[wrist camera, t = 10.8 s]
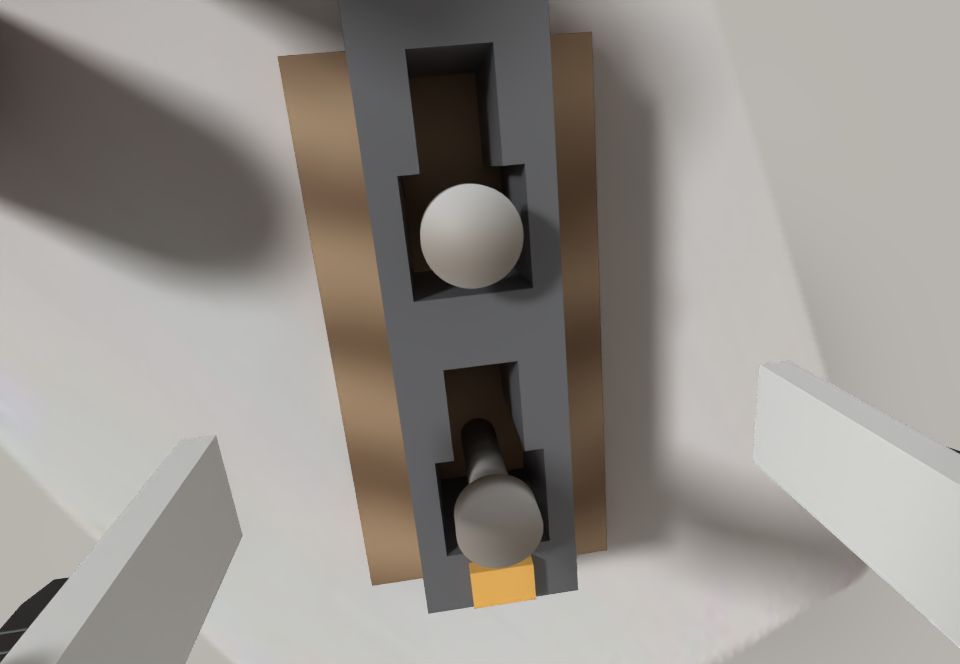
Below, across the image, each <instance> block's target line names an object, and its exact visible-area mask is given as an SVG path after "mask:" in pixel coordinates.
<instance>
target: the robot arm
mask: <svg viewBox="0 0 960 664" xmlns="http://www.w3.org/2000/svg"><path fill="white" fill-rule="evenodd" d="M753 462H754V463H755V464H756V465H757V466H758V467H759V468H760V469H762V470H763V471H764V472H765V473H766V474H767V475H768V476H769V477H770V478H772V479H773V480H774V481H775V482H776V483H777V484H778V485H779V486H780V487H781V488H783V489H784V490H785V491H786V492H787V493H788V494H789V495H790V496H791V497H793V498H794V499H795V500H796V501H797V502H798V503H799V504H800V505H801V506H803V507H804V508H805V509H806V510H807V511H808V512H809V513H810V514H811V515H813V516H814V517H815V518H816V519H817V520H818V521H819V522H820V523H821V524H823V525H824V526H825V527H826V528H827V529H828V530H829V531H830V532H831V533H832V534H834V535H835V536H836V537H837V538H838V539H839V540H840V541H841V542H842V543H844V544H845V545H846V546H847V547H848V548H849V549H850V550H851V551H852V552H854V553H855V554H856V555H857V556H858V557H859V558H860V559H861V560H862V561H864V562H865V563H866V564H867V565H868V566H869V567H870V568H871V569H872V570H874V571H875V572H876V573H877V574H878V575H879V576H880V577H881V578H882V579H884V580H885V581H886V582H887V583H888V584H889V585H890V586H891V587H892V588H893V589H895V590H896V591H897V592H898V593H899V594H900V595H901V596H902V597H903V598H905V599H906V600H907V601H908V602H909V603H910V604H911V605H912V606H913V607H915V608H916V609H917V610H918V611H919V612H920V613H921V614H922V615H923V616H925V617H926V618H927V619H928V620H929V621H930V622H931V623H932V624H934V626H936V627H937V628H938V629H939V630H940V631H941V632H942V633H943V634H945V635H946V636H947V637H948V638H949V639H950V640H951V641H952V642H953V643H954V644H956V645H957V646H958V647H959V648H960V451H958V450H955V449H952V448H949V447H946V446H944V445H942V444H941V443H939V442H937V441H935V440H933V439H931V438H930V437H928V436H926V435H924V434H922V433H920V432H919V431H917V430H915V429H913V428H911V427H909V426H908V425H906V424H904V423H902V422H900V421H898V420H897V419H895V418H893V417H891V416H889V415H887V414H885V413H884V412H882V411H880V410H878V409H876V408H875V407H872V406H871V405H869V404H867V403H866V402H864V401H862V400H860V399H858V398H856V397H855V396H853V395H851V394H849V393H847V392H845V391H844V390H842V389H840V388H838V387H836V386H834V385H833V384H831V383H829V382H827V381H825V380H824V379H822V378H820V377H818V376H816V375H814V374H813V373H811V372H809V371H807V370H805V369H803V368H802V367H800V366H798V365H796V364H794V363H792V362H791V361H781V362H774V363H766V364H760V367H759V380H758V394H757V408H756V422H755V435H754V449H753ZM241 538H242V532H241V528H240V524H239V520H238V517H237V513H236V509H235V505H234V502H233V498H232V494H231V490H230V486H229V483H228V479H227V475H226V471H225V468H224V464H223V460H222V456H221V453H220V449H219V445H218V441H217V437H216V435H214V436H207V437H199V438H191V439H184V440H181V441H180V442H179V443H178V445H177V446H176V447H175V448H174V450H173V451H172V452H171V453H170V454H169V456H168V457H167V458H166V459H165V461H164V462H163V463H162V464H161V466H160V467H159V468H158V469H157V470H156V472H155V473H154V474H153V475H152V477H151V478H150V479H149V480H148V482H147V483H146V484H145V485H144V486H143V488H142V489H141V490H140V491H139V493H138V494H137V495H136V496H135V498H134V499H133V500H132V501H131V502H130V504H129V505H128V506H127V507H126V509H125V510H124V511H123V512H122V514H121V515H120V516H119V517H118V518H117V520H116V521H115V522H114V523H113V525H112V526H111V527H110V528H109V530H108V531H107V532H106V533H105V534H104V536H103V537H102V538H101V539H100V541H99V542H98V543H97V544H96V546H95V547H94V548H93V549H92V550H91V552H90V553H89V554H88V555H87V557H86V558H85V559H84V560H83V562H82V563H81V564H80V565H79V567H78V568H77V569H76V570H75V571H74V573H73V574H72V575H71V576H70V577H69V578H62V579H56V580H53V581H52V582H50V583H49V584H48V585H46V586H45V587H44V588H42V589H41V590H40V591H39V592H37V593H36V594H35V595H33V596H32V597H31V598H30V599H28V600H27V601H25V602H24V603H23V604H22V605H21V606H20V607H19V608H18V609H17V611H15V613H14V614H13V615H12V616H11V617H10V618H9V620H8V621H7V622H6V623H5V624H4V625H3V626H2V628H1V629H0V664H185V663H186V661H187V659H188V656H189V654H190V652H191V650H192V647H193V645H194V643H195V640H196V638H197V636H198V634H199V632H200V629H201V627H202V625H203V623H204V621H205V618H206V616H207V614H208V612H209V609H210V607H211V605H212V603H213V600H214V598H215V596H216V594H217V591H218V589H219V587H220V585H221V583H222V580H223V578H224V576H225V574H226V571H227V569H228V567H229V565H230V562H231V560H232V558H233V556H234V553H235V551H236V549H237V547H238V545H239V542H240V540H241Z"/></svg>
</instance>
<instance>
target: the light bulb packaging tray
mask: <svg viewBox="0 0 960 664" xmlns="http://www.w3.org/2000/svg"><path fill="white" fill-rule="evenodd" d="M338 4H339V11H340V18H341V25H342V31H343V38H344V45H345V52H346V59H347V65H348V72H349V79H350V86H351V92H352V99H353V106H354V113H355V119H356V126H357V133H358V140H359V147H360V153H361V160H362V167H363V174H364V180H365V187H366V194H367V201H368V207H369V214H370V221H371V228H372V235H373V241H374V248H375V255H376V262H377V268H378V275H379V282H380V289H381V295H382V302H383V309H384V316H385V323H386V329H387V336H388V343H389V350H390V356H391V363H392V370H393V377H394V383H395V390H396V397H397V404H398V411H399V417H400V424H401V431H402V438H403V444H404V451H405V458H406V465H407V471H408V478H409V485H410V492H411V499H412V505H413V512H414V519H415V526H416V532H417V539H418V546H419V553H420V559H421V566H422V573H423V580H424V587H425V593H426V600H427V607H428V614H429V613H435V612H442V611H448V610H454V609H461V608H467V607H473V606H474V609H475V608H481V607H488V606H494V605H500V604H507V603H513V602H519V601H526V600H532V599H536V596H543V595H549V594H555V593H562V592H568V591H574V590H578V581H577V562H576V542H575V522H574V502H573V482H572V462H571V443H570V423H569V403H568V383H567V363H566V344H565V324H564V304H563V284H562V264H561V244H560V225H559V205H558V185H557V165H556V145H555V126H554V106H553V86H552V66H551V46H550V26H549V7H548V0H338ZM464 73H475V80H476V91H477V102H478V114H479V125H480V137H481V148H482V160H483V166H500V170H501V183H502V194H503V195H504V196H506V197H507V198H508V199H509V200H510V201H511V203H512V204H513V205H514V207H515V208H516V210H517V212H518V214H519V216H520V218H521V222H522V225H523V247H522V250H521V254H520V256H519V259H518V261H517V262H516V264H515V266H514V267H513V268H512V270H511V271H510V272H509V273H508V274H507V275H506V276H505V277H503V278H502V279H501V280H499V281H498V282H496V283H494V284H492V285H489V286H486V287H482V288H475V289H468V288H461V287H457V286H454V285H451V284H449V283H447V282H445V281H444V280H442V279H441V278H440V277H439V276H437V275H436V274H435V273H434V272H433V270H430V271H421V272H414V266H413V258H412V250H411V242H410V234H409V227H408V219H407V211H406V203H405V196H404V188H403V180H402V176H403V175H414V174H420V172H419V163H418V155H417V147H416V138H415V130H414V122H413V113H412V105H411V96H410V88H409V80H408V78H417V77H428V76H440V75H452V74H464ZM498 363H500V366H501V377H502V389H503V395H504V397H505V400H506V403H507V405H508V408H509V410H510V413H511V416H512V418H513V421H514V424H515V426H516V429H517V431H518V434H519V437H520V439H521V442H522V450H523V462H524V468H519V469H512V470H507V473H508V475H510V476H514V477H516V478H518V479H520V480H522V481H523V482H524V483H525V484H527V486H528V487H529V488H530V489H531V491H532V492H533V494H534V497H535V500H536V502H537V505H538V508H539V511H540V514H541V517H542V520H543V535H542V538H541V541H540V543H539V545H538V546H537V548H536V549H535V550H534V552H533V553H532V554H531V555H530V556H529V557H527V558H526V559H525V560H523V561H521V562H520V563H517V564H515V565H512V566H509V567H505V568H487V567H483V566H480V565H478V564H476V563H474V562H472V561H471V560H469V559H468V558H467V557H466V556H465V555H464V554H463V553H462V551H461V549H460V548H459V545H458V542H457V537H456V528H455V519H454V508H455V503H456V501H457V498H458V496H459V495H460V493H461V492H462V490H463V489H464V488H465V487H466V486H467V485H468V484H469V483H468V477H467V476H462V477H455V478H448V479H441V476H440V468H439V463H442V462H449V461H454V456H453V448H452V440H451V431H450V423H449V415H448V406H447V398H446V389H445V381H444V373H443V370H450V369H458V368H466V367H474V366H482V365H490V364H498Z"/></svg>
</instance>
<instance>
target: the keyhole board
mask: <svg viewBox="0 0 960 664" xmlns="http://www.w3.org/2000/svg"><path fill="white" fill-rule="evenodd" d="M550 46H551V66H552V86H553V106H554V126H555V145H556V165H557V185H558V205H559V225H560V244H561V264H562V284H563V304H564V324H565V344H566V363H567V383H568V403H569V423H570V443H571V462H572V482H573V502H574V522H575V542H576V555H577V554H584V553H591V552H597V551H604V550H607V530H606V496H605V462H604V428H603V394H602V359H601V325H600V291H599V257H598V223H597V189H596V155H595V120H594V86H593V52H592V32H582V33H569V34H556V35H550ZM278 61H279V67H280V73H281V78H282V84H283V89H284V95H285V101H286V106H287V112H288V117H289V123H290V129H291V134H292V140H293V145H294V151H295V157H296V162H297V168H298V173H299V179H300V184H301V190H302V196H303V201H304V207H305V212H306V218H307V224H308V229H309V235H310V240H311V246H312V252H313V257H314V263H315V268H316V274H317V280H318V285H319V291H320V296H321V302H322V308H323V313H324V319H325V324H326V330H327V335H328V341H329V347H330V352H331V358H332V363H333V369H334V375H335V380H336V386H337V391H338V397H339V403H340V408H341V414H342V419H343V425H344V431H345V436H346V442H347V447H348V453H349V459H350V464H351V470H352V475H353V481H354V486H355V492H356V498H357V503H358V509H359V514H360V520H361V526H362V531H363V537H364V542H365V548H366V554H367V559H368V565H369V570H370V576H371V582H372V586H373V585H380V584H386V583H393V582H400V581H406V580H413V579H419V578H423V573H422V566H421V559H420V553H419V546H418V539H417V532H416V526H415V519H414V512H413V505H412V499H411V492H410V485H409V478H408V471H407V465H406V458H405V451H404V444H403V438H402V431H401V424H400V417H399V411H398V404H397V397H396V390H395V383H394V377H393V370H392V363H391V356H390V350H389V343H388V336H387V329H386V323H385V316H384V309H383V302H382V295H381V289H380V282H379V275H378V268H377V262H376V255H375V248H374V241H373V235H372V228H371V221H370V214H369V207H368V201H367V194H366V187H365V180H364V174H363V167H362V160H361V153H360V147H359V140H358V133H357V126H356V119H355V113H354V106H353V99H352V92H351V86H350V79H349V72H348V65H347V59H346V52H345V51H339V52H327V53H314V54H301V55H288V56H278ZM408 80H409V88H410V96H411V105H412V113H413V122H414V130H415V138H416V147H417V155H418V163H419V172H420V174H414V175H403V176H402V180H403V188H404V196H405V203H406V211H407V219H408V227H409V234H410V242H411V250H412V258H413V266H414V272H421V271H430V270H433V272H434V273H435V274H436V275H437V276H439V277H440V278H441V279H442V280H444V281H445V282H447V283H449V284H451V285H454V286H457V287H461V288H468V289H475V288H482V287H486V286H489V285H492V284H494V283H496V282H498V281H499V280H501V279H502V278H503V277H505V276H506V275H507V274H508V273H509V272H510V271H511V270H512V268H513V267H514V266H515V264H516V262H517V261H518V259H519V256H520V254H521V250H522V247H523V225H522V222H521V218H520V216H519V214H518V212H517V210H516V208H515V207H514V205H513V204H512V203H511V201H510V200H509V199H508V198H507V197H506V196H504V195H503V194H502V183H501V170H500V166H483V160H482V148H481V137H480V125H479V114H478V102H477V91H476V80H475V73H464V74H452V75H440V76H428V77H417V78H408ZM443 373H444V381H445V389H446V398H447V406H448V415H449V423H450V431H451V440H452V448H453V456H454V461H449V462H442V463H439V468H440V476H441V479H448V478H455V477H462V476H467V477H468V483H469V484H468V485H467V486H466V487H465V488H464V489H463V490H462V492H461V493H460V495H459V496H458V498H457V501H456V503H455V508H454V519H455V528H456V537H457V542H458V545H459V548H460V549H461V551H462V553H463V554H464V555H465V556H466V557H467V558H468V559H469V560H471V561H472V562H474V563H476V564H478V565H480V566H483V567H487V568H505V567H509V566H512V565H515V564H517V563H520V562H521V561H523V560H525V559H526V558H527V557H529V556H530V555H531V554H532V553H533V552H534V550H535V549H536V548H537V546H538V545H539V543H540V541H541V538H542V535H543V520H542V517H541V514H540V511H539V508H538V505H537V502H536V500H535V497H534V494H533V492H532V491H531V489H530V488H529V487H528V486H527V484H525V483H524V482H523V481H522V480H520V479H518V478H516V477H514V476H510V475H508V473H507V470H512V469H519V468H524V462H523V450H522V442H521V439H520V437H519V434H518V431H517V429H516V426H515V424H514V421H513V418H512V416H511V413H510V410H509V408H508V405H507V403H506V400H505V397H504V395H503V389H502V377H501V366H500V363H498V364H490V365H482V366H474V367H466V368H458V369H450V370H443Z"/></svg>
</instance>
